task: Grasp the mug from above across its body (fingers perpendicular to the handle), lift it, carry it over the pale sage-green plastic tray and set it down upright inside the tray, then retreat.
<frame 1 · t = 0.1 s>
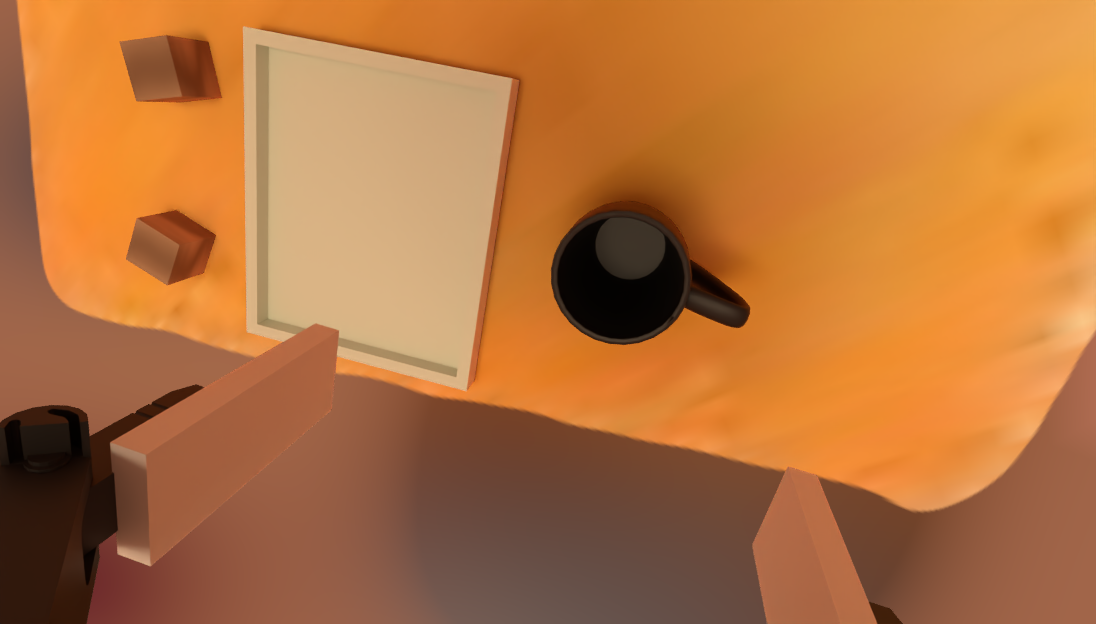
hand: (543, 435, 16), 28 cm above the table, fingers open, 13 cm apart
walnut cube a: (194, 72, 45), on the table
mug: (654, 254, 42), on the table
tray: (375, 217, 45), on the table
walnut cube b: (190, 241, 50), on the table
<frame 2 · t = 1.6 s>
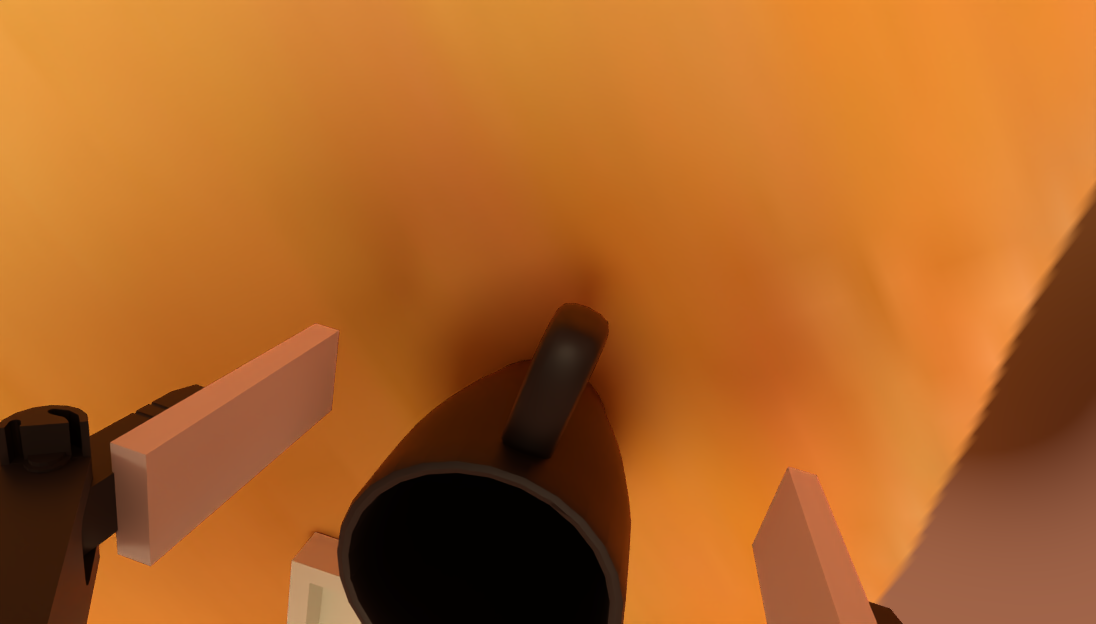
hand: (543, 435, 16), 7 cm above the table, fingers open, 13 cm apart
mug: (558, 380, 24), on the table
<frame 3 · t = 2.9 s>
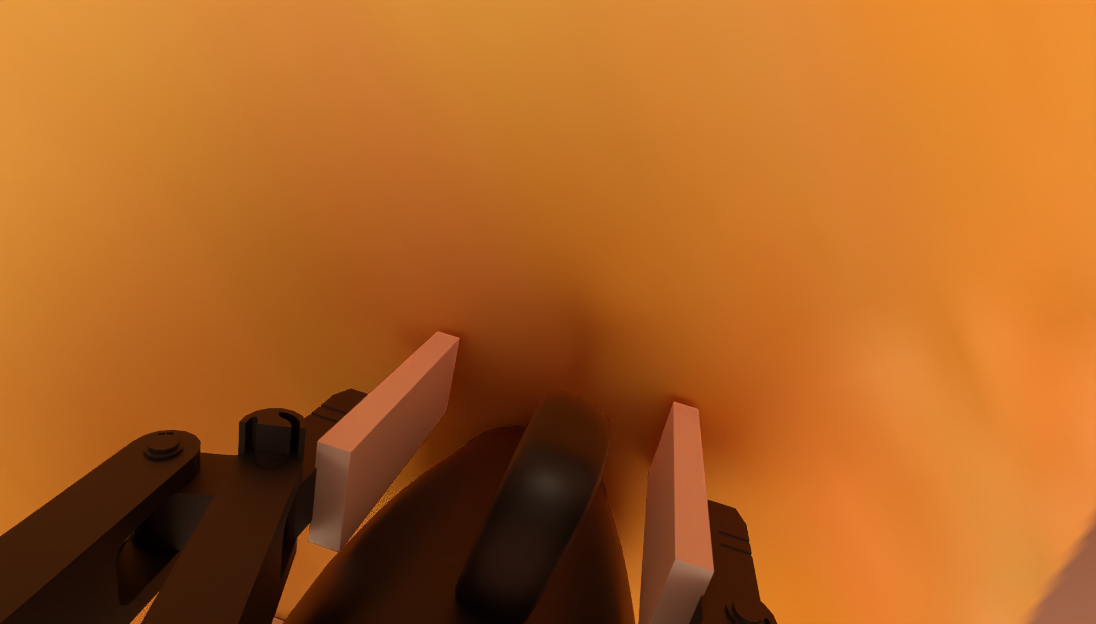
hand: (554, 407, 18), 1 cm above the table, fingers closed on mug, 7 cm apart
mug: (547, 450, 19), on the table, touching gripper
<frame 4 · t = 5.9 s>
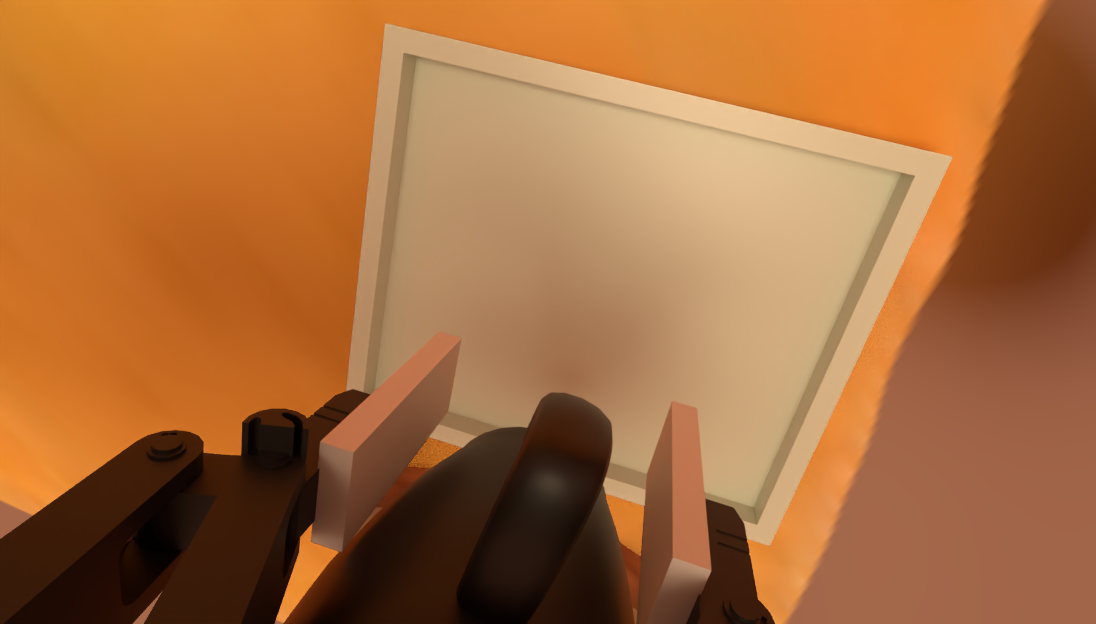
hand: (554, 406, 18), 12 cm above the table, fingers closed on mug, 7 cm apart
walnut cube a: (411, 493, 36), on the table
mug: (547, 451, 19), point 11 cm above the table, touching gripper
tray: (598, 294, 29), on the table
walnut cube b: (623, 577, 35), on the table
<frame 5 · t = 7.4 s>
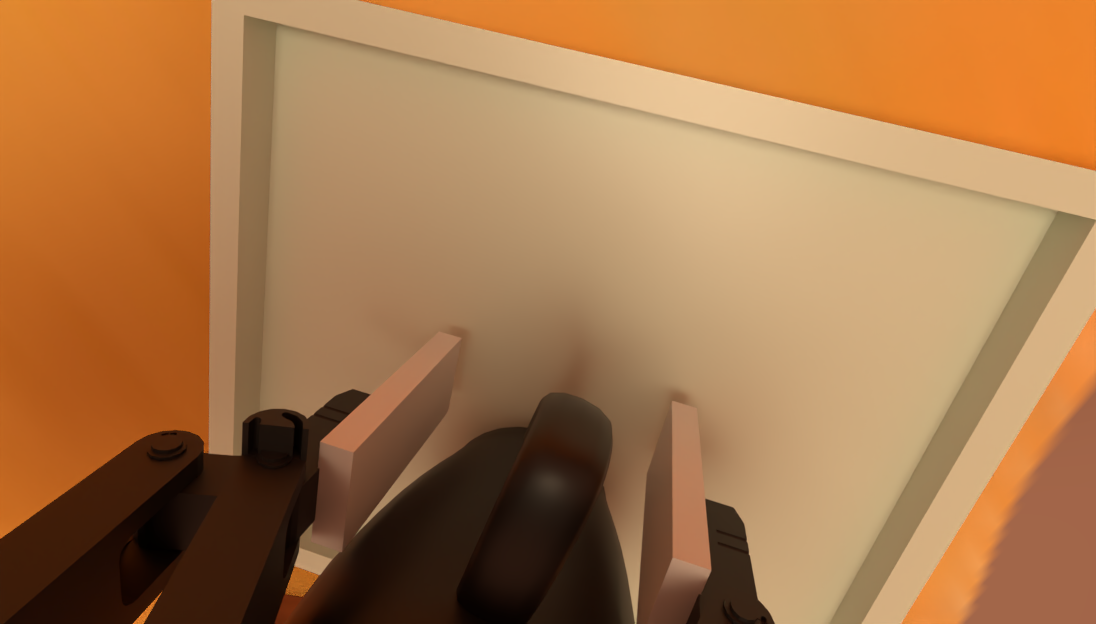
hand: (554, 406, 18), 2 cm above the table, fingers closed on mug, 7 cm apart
mug: (547, 451, 19), point 1 cm above the table, touching gripper
tray: (565, 382, 19), on the table
when the fingers open (2 cm above the table, at t = 8.4 s): mug stays where it is, resting on tray.
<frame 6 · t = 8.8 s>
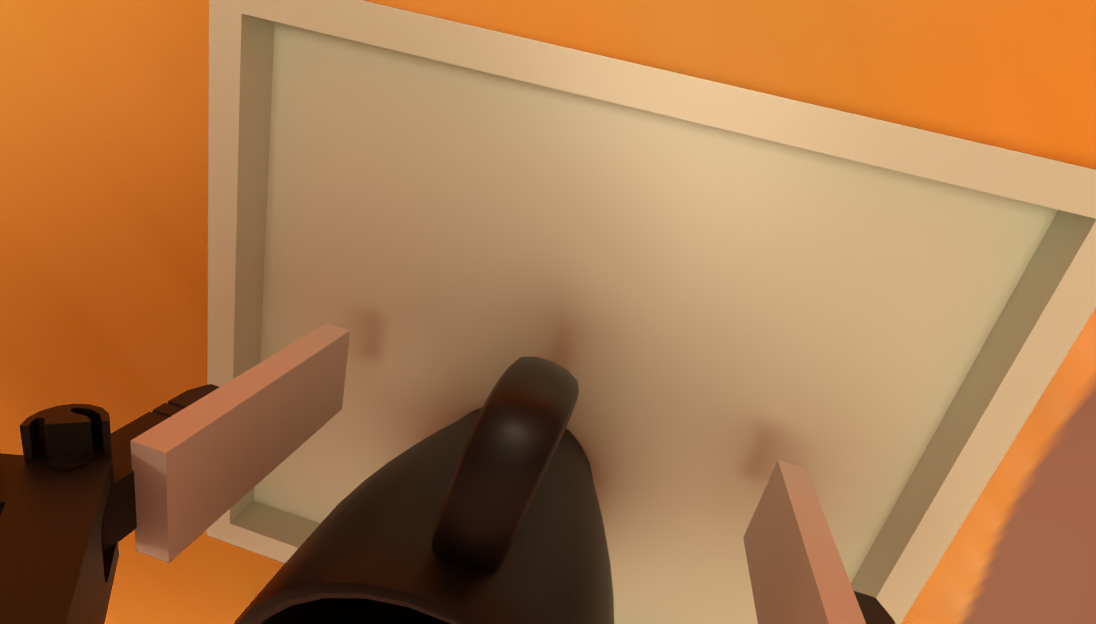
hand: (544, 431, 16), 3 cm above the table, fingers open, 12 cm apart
mug: (535, 428, 20), resting on tray
tray: (564, 381, 19), on the table
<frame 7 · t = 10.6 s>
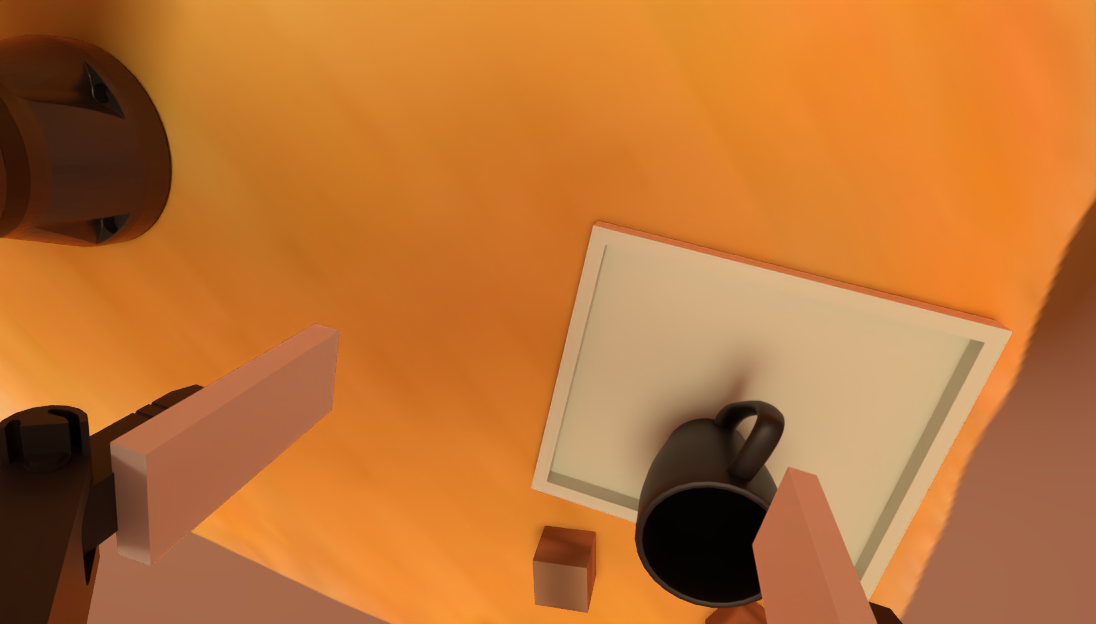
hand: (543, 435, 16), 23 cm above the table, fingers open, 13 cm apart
walnut cube a: (570, 549, 45), on the table
mug: (718, 430, 39), resting on tray
tray: (734, 407, 39), on the table
walnut cube b: (743, 619, 44), on the table
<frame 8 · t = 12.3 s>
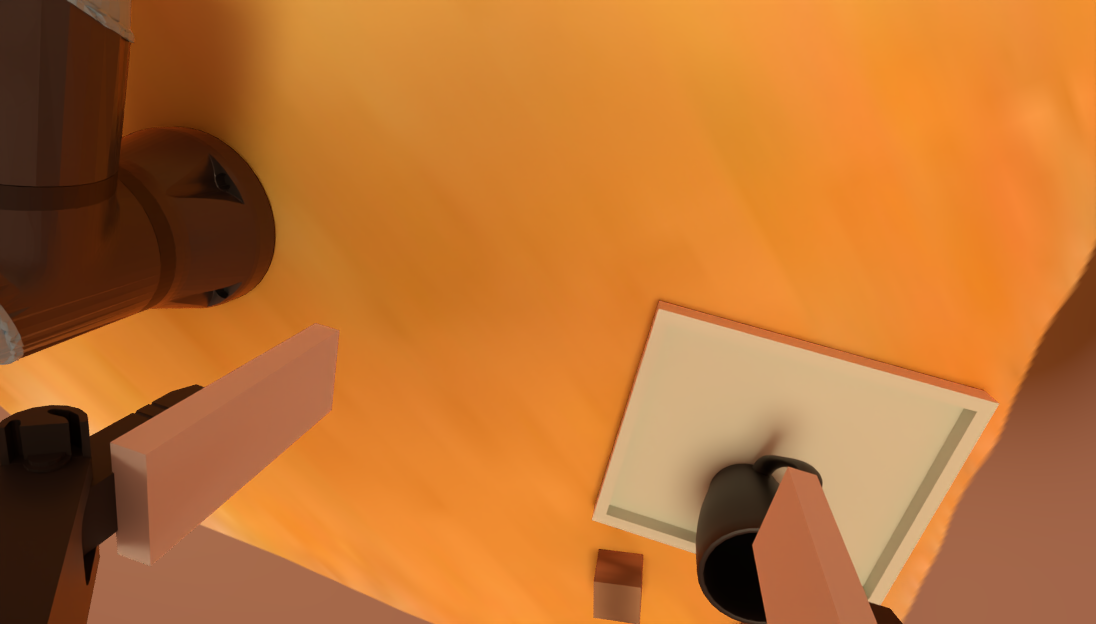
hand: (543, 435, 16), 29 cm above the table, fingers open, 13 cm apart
walnut cube a: (620, 568, 53), on the table
mug: (754, 473, 46), resting on tray
tray: (768, 454, 46), on the table
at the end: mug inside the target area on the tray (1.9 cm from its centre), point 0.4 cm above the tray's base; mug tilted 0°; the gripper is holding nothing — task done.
